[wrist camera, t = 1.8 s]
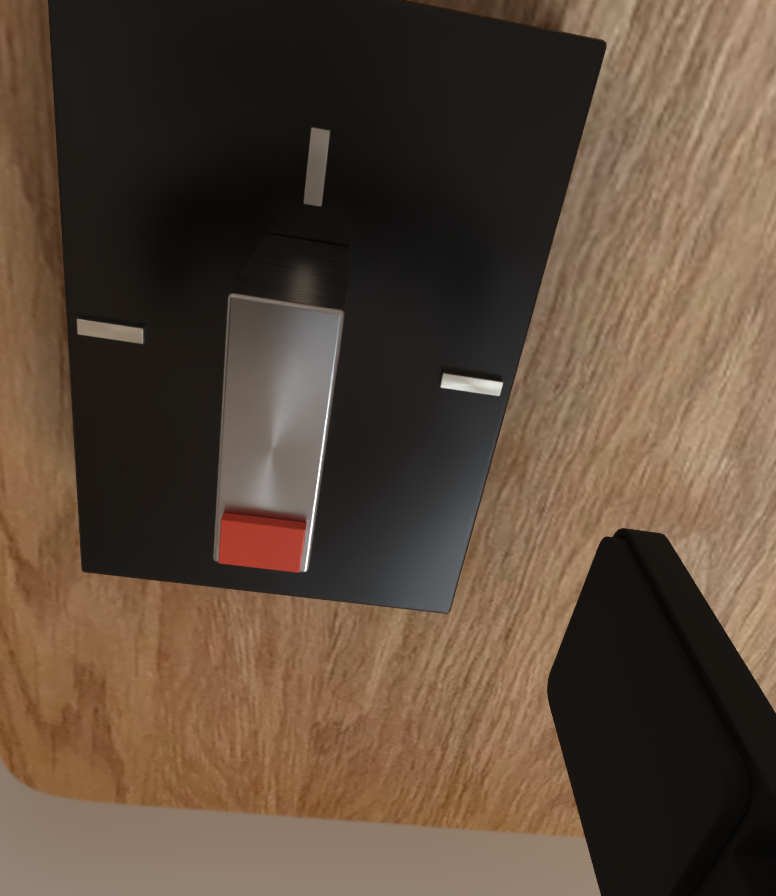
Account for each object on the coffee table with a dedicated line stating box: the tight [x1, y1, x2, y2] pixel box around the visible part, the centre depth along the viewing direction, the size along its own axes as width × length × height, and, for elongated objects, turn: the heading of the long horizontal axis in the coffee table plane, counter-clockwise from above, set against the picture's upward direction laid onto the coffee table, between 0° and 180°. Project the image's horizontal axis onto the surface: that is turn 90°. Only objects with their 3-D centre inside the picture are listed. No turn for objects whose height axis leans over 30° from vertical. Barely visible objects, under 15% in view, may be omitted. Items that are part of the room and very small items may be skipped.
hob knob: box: [213, 234, 352, 573], centre depth 14 cm, size 5×2×4 cm, turn 170°
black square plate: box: [48, 0, 606, 614], centre depth 17 cm, size 14×10×3 cm
